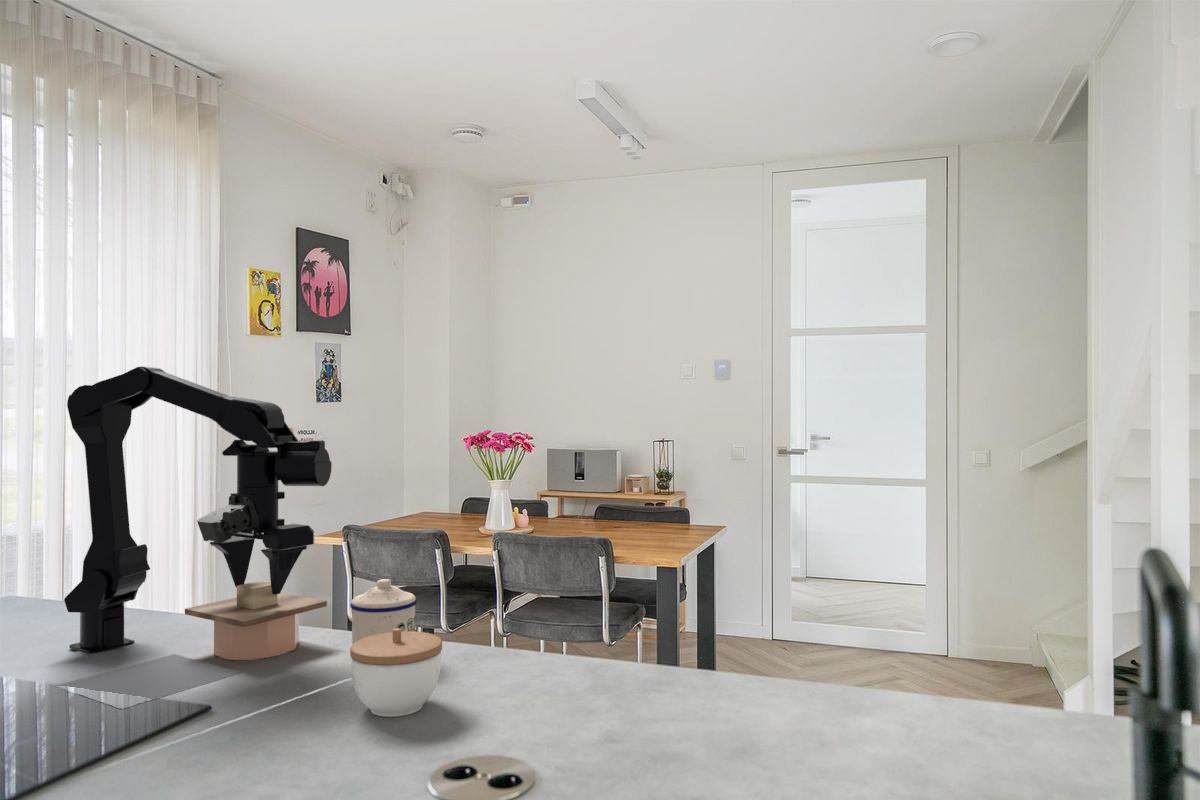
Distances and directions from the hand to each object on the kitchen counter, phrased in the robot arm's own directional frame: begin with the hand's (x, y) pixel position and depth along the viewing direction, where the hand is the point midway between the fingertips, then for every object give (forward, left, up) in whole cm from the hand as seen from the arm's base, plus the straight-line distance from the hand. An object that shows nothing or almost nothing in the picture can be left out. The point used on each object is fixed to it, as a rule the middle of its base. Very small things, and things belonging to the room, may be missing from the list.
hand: (257, 590), depth 121 cm
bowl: (0, 0, -9) cm, 9 cm away
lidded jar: (+35, -6, -9) cm, 37 cm away
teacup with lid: (+20, +7, -9) cm, 23 cm away
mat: (0, -16, -9) cm, 18 cm away
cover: (0, 0, -3) cm, 3 cm away
